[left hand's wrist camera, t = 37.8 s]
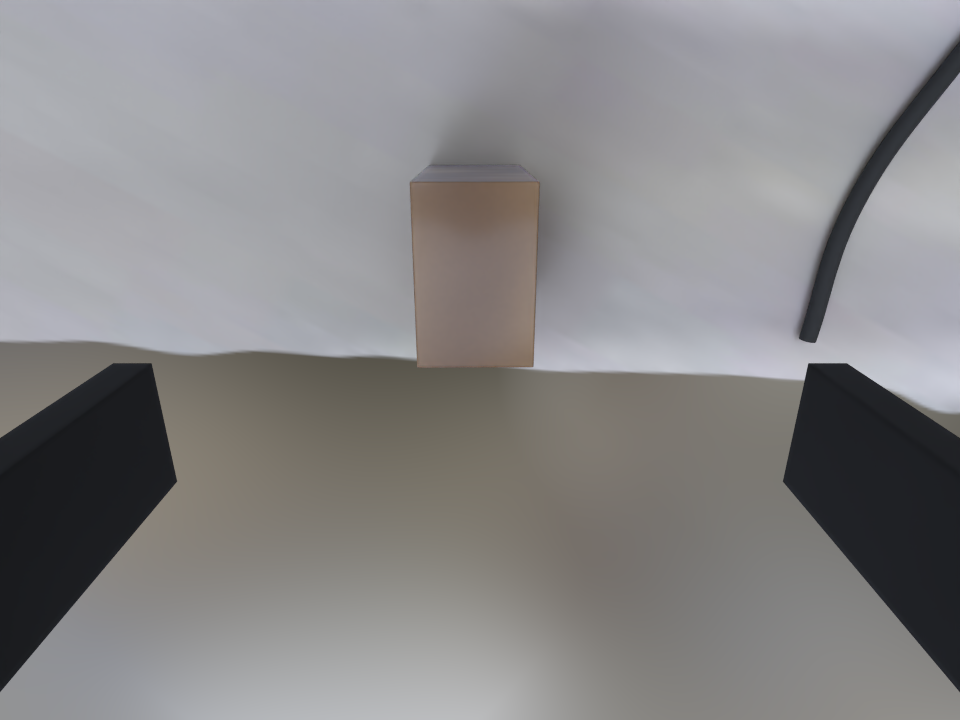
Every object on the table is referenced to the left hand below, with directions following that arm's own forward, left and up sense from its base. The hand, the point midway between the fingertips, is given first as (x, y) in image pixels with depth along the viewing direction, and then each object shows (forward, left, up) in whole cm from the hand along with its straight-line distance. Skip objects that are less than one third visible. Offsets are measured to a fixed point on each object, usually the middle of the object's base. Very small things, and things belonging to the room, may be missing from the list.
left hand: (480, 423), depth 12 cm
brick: (0, 0, -24) cm, 24 cm away
